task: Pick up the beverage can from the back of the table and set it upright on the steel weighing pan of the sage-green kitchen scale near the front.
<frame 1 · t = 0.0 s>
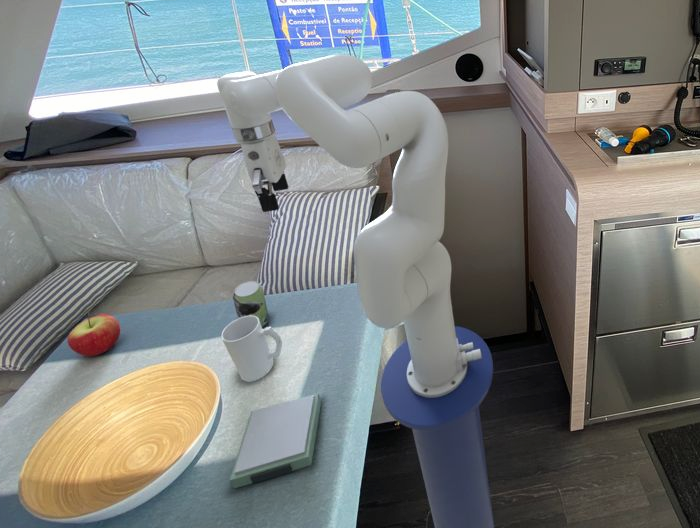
hand: (276, 199, 96), 31 cm above the table, tool pointing down, fingers open, 9 cm apart
apple: (104, 349, 97), on the table
beverage can: (258, 325, 101), on the table
scale: (281, 441, 75), on the table
mug: (265, 368, 90), on the table
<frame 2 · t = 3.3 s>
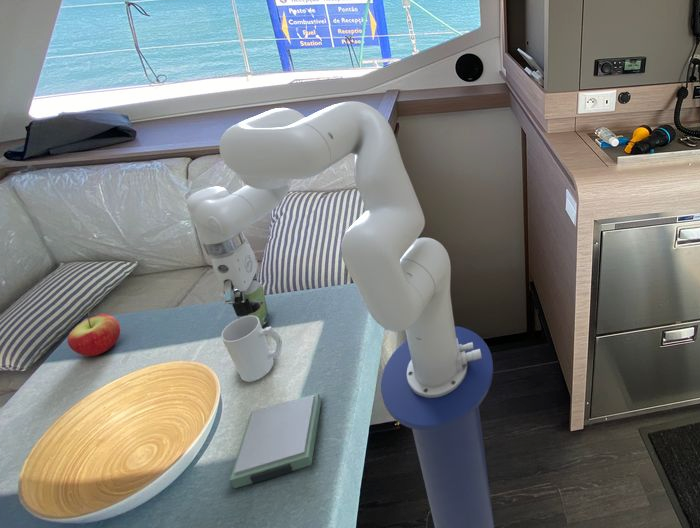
hand: (249, 302, 98), 7 cm above the table, tool pointing down, fingers closed on beverage can, 6 cm apart
beverage can: (258, 325, 101), on the table, touching gripper
everything else where it was.
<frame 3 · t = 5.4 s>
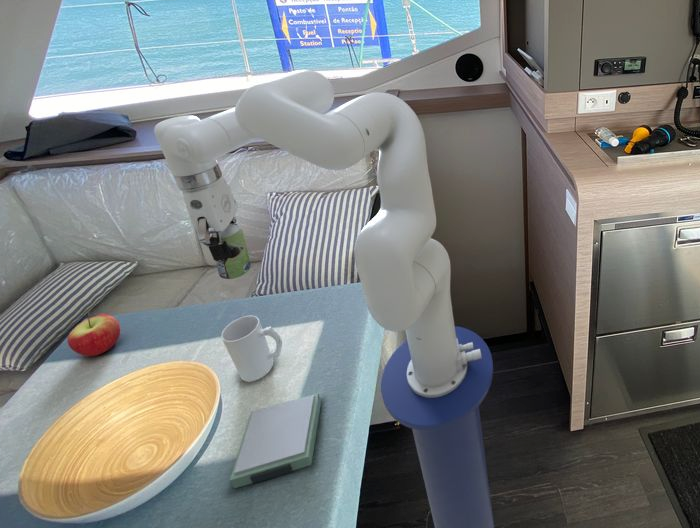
hand: (228, 248, 91), 24 cm above the table, tool pointing down, fingers closed on beverage can, 6 cm apart
beverage can: (239, 274, 94), point 16 cm above the table, touching gripper
everything else where it was.
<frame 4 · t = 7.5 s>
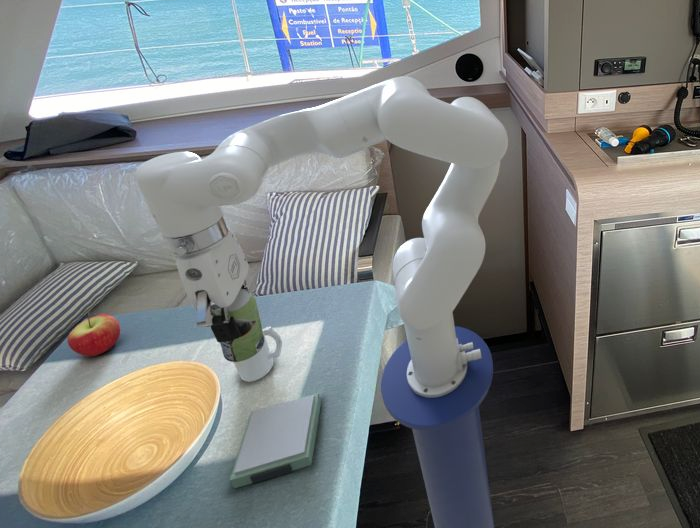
hand: (236, 322, 69), 25 cm above the table, tool pointing down, fingers closed on beverage can, 6 cm apart
beverage can: (250, 352, 72), point 18 cm above the table, touching gripper
everything else where it was.
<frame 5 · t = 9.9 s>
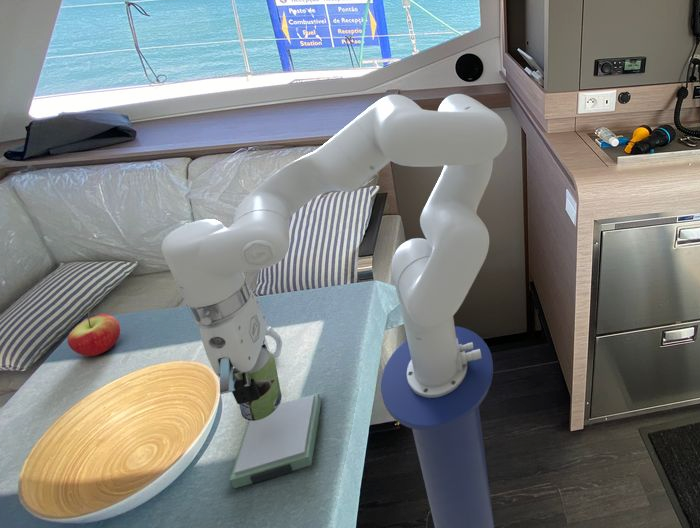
hand: (255, 380, 69), 16 cm above the table, tool pointing down, fingers closed on beverage can, 6 cm apart
beverage can: (267, 409, 72), point 9 cm above the table, touching gripper
everything else where it was.
when the fingers open (10 cm above the table, at t = 11.8 s): beverage can stays where it is, resting on scale.
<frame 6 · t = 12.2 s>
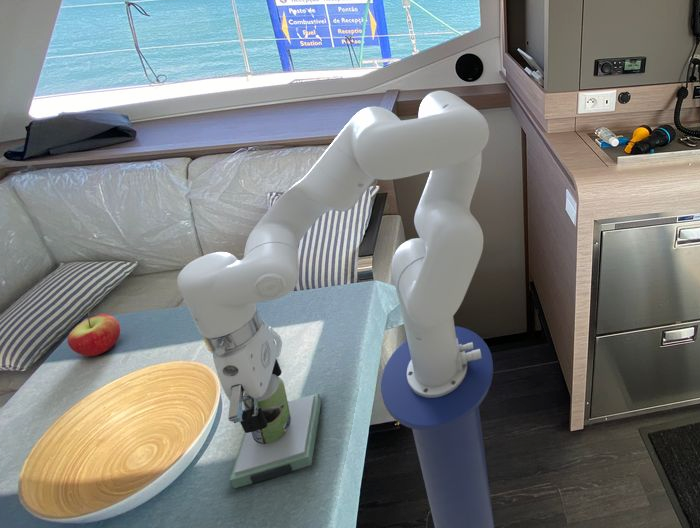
hand: (265, 401, 71), 11 cm above the table, tool pointing down, fingers open, 9 cm apart
beverage can: (277, 431, 74), point 3 cm above the table, touching scale
everything else where it was.
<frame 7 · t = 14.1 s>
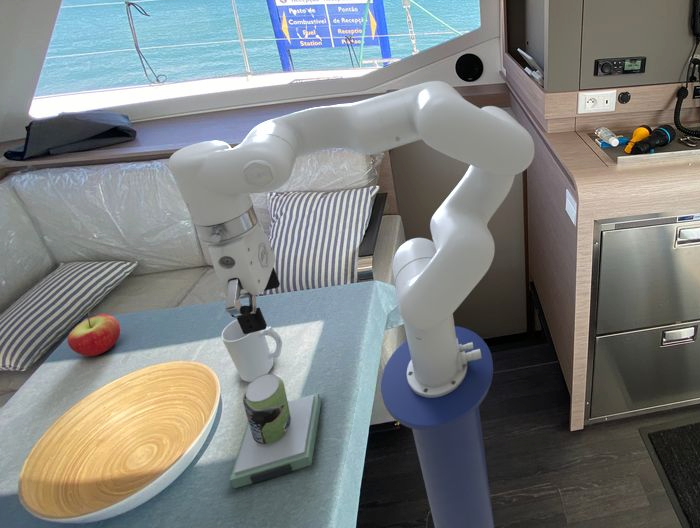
hand: (263, 308, 69), 27 cm above the table, tool pointing down, fingers open, 9 cm apart
nothing on the table moved.
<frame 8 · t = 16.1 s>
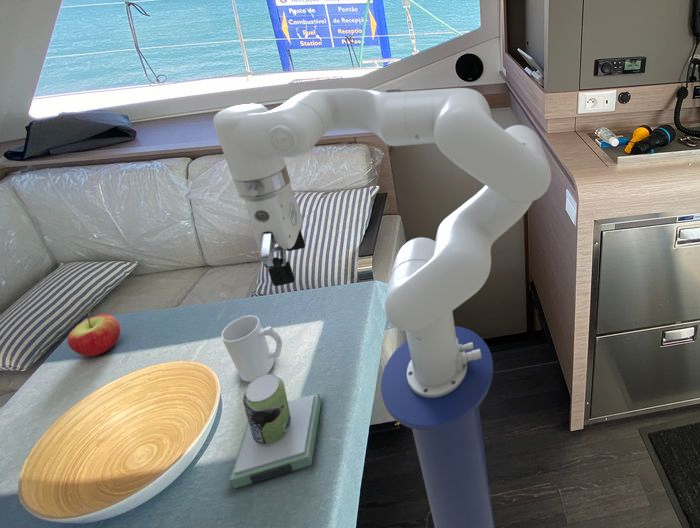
hand: (290, 265, 74), 30 cm above the table, tool pointing down, fingers open, 9 cm apart
nothing on the table moved.
at the end: beverage can inside the target area on the scale (0.0 cm from its centre), point 2.8 cm above the scale's base; beverage can tilted 0°; the gripper is holding nothing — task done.
